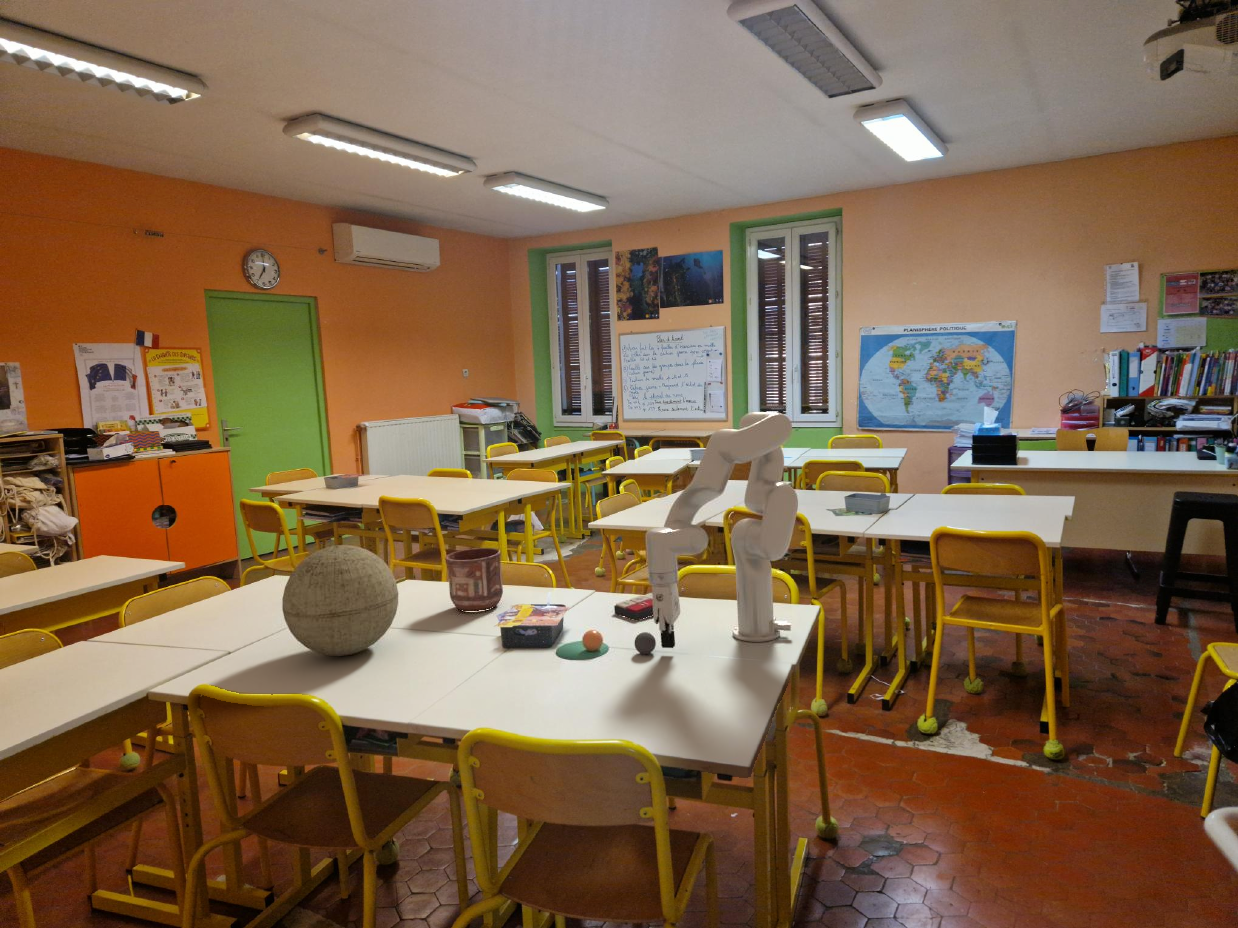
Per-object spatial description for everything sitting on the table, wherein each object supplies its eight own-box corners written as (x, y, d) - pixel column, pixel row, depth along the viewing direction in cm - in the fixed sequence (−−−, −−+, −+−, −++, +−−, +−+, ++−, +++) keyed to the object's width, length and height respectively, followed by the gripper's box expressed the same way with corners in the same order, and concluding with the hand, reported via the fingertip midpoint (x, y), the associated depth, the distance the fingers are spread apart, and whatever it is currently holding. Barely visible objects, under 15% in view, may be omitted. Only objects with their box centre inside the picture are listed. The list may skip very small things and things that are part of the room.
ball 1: (584, 627, 202) (587, 647, 202) (577, 634, 196) (580, 654, 197) (604, 626, 200) (607, 646, 200) (597, 633, 195) (600, 653, 195)
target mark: (615, 642, 204) (615, 641, 204) (598, 661, 191) (598, 660, 191) (567, 640, 208) (567, 639, 208) (547, 658, 195) (547, 657, 195)
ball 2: (640, 626, 197) (635, 645, 198) (634, 633, 192) (629, 653, 193) (660, 632, 196) (655, 652, 196) (654, 639, 190) (650, 659, 191)
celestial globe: (269, 657, 208) (257, 551, 205) (369, 628, 230) (360, 531, 227) (319, 682, 188) (307, 564, 185) (423, 647, 210) (414, 541, 206)
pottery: (453, 602, 254) (448, 550, 252) (505, 597, 255) (501, 545, 253) (447, 618, 236) (442, 562, 234) (503, 613, 238) (499, 557, 236)
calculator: (613, 603, 230) (651, 590, 239) (614, 616, 230) (652, 603, 239) (635, 610, 221) (673, 597, 230) (636, 624, 222) (675, 610, 230)
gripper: (670, 585, 182) (676, 658, 184) (684, 569, 197) (688, 637, 199) (641, 584, 185) (646, 656, 187) (656, 569, 199) (661, 636, 201)
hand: (668, 646), depth 193 cm, fingers closed
